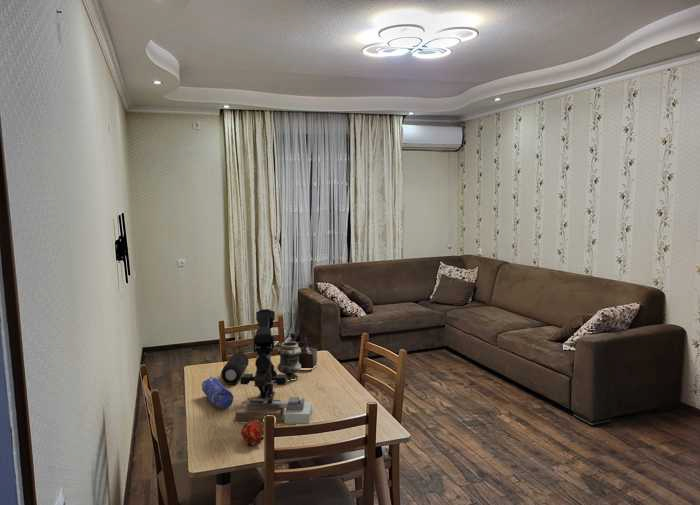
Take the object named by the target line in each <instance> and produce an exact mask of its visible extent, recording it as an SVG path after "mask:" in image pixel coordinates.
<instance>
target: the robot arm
mask: <svg viewBox="0 0 700 505" xmlns="http://www.w3.org/2000/svg"><path fill="white" fill-rule="evenodd" d="M275 312H276V311H274V310H271V309H269V308H266V309H264V308H262V309H259V310H258V311H256V313H255V320H256V322H257V325H258V329H257V330H256V331H255V335H254V336H253V353H256V358H255V363H254V364H255V367H256V371H255V374H254V376H253V373H243V374H242V376H241V378H240V380H239V383H240V385H248V384H250V382H254V385H253V386H254V387H257V388H258V390H259V392H260V393H259V395H258V398H262V400H267V395H268V394H273V397H274V396H275V393H276V392H275V391H274V384H275V385H277V386H286V384H287V382H288V381H287V375H286V374H284V373H277V370H276V369H275V365H274V364H273V362H272V356H271V355H272V353H273V350H274V349H275V337H274V335H272V330H271V329H272V328H273V326H274V321H276V313H275Z"/></svg>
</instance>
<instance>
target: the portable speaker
mask: <svg viewBox="0 0 700 505" xmlns="http://www.w3.org/2000/svg"><path fill="white" fill-rule="evenodd" d="M248 366H249V357H248V356H247V354H245V353H244V352H235V353H233V354H232V355H231V356H230V357H229V359H228V360H227V362H226V364H225V365H224V366H223V368H222V369H221V372H220V375H221V379H222V380H223V381H224V383H226V384H228V385H233V383H234V384H237V383H238V382H240V379H241V377H242V376H243V375H244V374H245V373H244V372H245V371H246V369H247V367H248Z"/></svg>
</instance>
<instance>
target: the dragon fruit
mask: <svg viewBox="0 0 700 505" xmlns="http://www.w3.org/2000/svg"><path fill="white" fill-rule="evenodd" d="M264 424H265V423H261V422H259V421H258V420H254V421H249V423H245V424H244V425H243V426H242V429H241V432H240V436H241V437H242V439H243V441H244V442H245V443H246V446H248V447H250V446H253V445H256V444H257V443H258V442H259V443H260V442H261V441H264V439H265V438H264V437H265V436H264V435H265V434H264V432H265V430H264V427H265V425H264Z"/></svg>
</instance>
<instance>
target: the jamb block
mask: <svg viewBox="0 0 700 505" xmlns="http://www.w3.org/2000/svg"><path fill="white" fill-rule="evenodd" d="M287 401H288V404H287V408H285V410H284V413H283V416H284V424H307V423H309V424H310V422H311V418H312V415H313V414H312V413H313V402H310V401H309V402H306V401H305V398H304V397H302V398H301V399H300V397H299V396H289V399H288V400H287ZM311 414H312V415H311Z"/></svg>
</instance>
